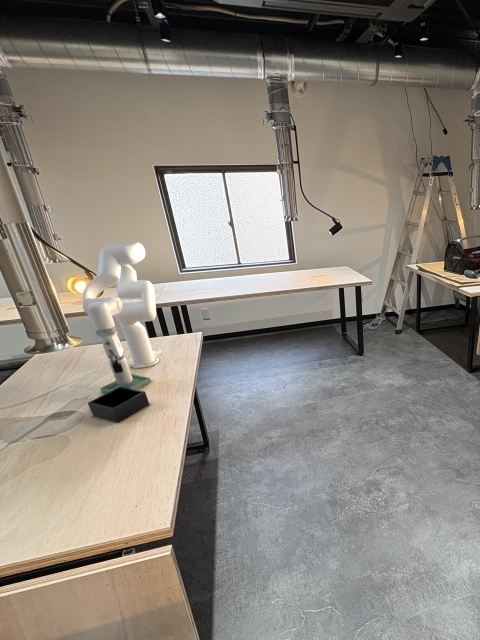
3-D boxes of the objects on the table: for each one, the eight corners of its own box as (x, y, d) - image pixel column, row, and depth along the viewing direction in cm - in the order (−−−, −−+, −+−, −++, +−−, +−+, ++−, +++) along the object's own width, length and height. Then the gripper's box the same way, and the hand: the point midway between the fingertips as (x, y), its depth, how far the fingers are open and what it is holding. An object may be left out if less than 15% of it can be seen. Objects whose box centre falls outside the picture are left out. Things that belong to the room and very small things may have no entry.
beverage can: (126, 386, 184) (117, 362, 178) (114, 385, 185) (104, 361, 179) (136, 379, 189) (128, 356, 184) (124, 378, 190) (115, 355, 185)
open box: (125, 399, 178) (120, 386, 175) (149, 404, 173) (145, 391, 170) (93, 416, 166) (87, 402, 163) (118, 423, 161) (113, 409, 158)
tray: (131, 377, 196) (129, 373, 196) (151, 381, 192) (150, 377, 191) (101, 392, 184) (100, 388, 183) (122, 396, 180) (120, 392, 179)
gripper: (113, 336, 170) (127, 375, 178) (119, 323, 184) (132, 360, 192) (92, 339, 167) (107, 378, 175) (100, 326, 181) (113, 363, 190)
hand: (120, 368), depth 184 cm, fingers closed on beverage can, 6 cm apart
